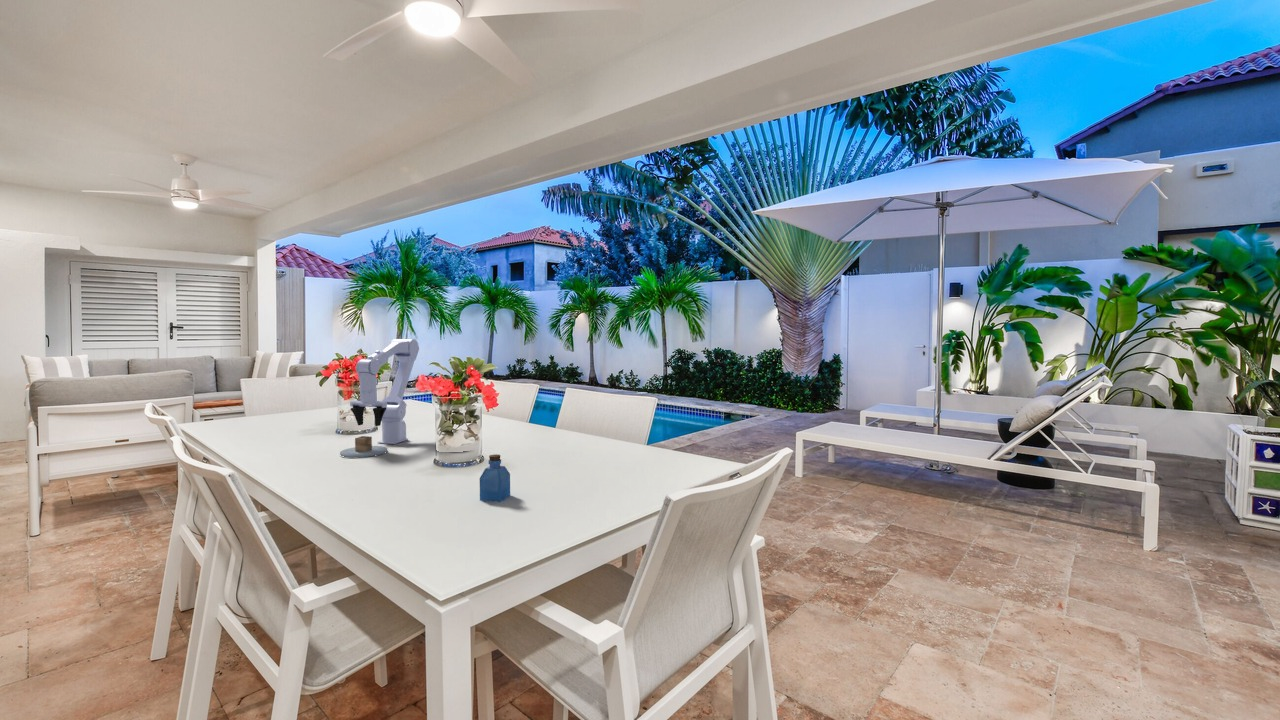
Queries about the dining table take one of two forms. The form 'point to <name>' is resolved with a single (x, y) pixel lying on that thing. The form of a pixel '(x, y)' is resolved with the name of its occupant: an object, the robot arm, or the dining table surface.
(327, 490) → the dining table surface
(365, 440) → the walnut block
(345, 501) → the dining table surface
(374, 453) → the slate dish
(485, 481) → the perfume bottle
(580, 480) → the dining table surface
